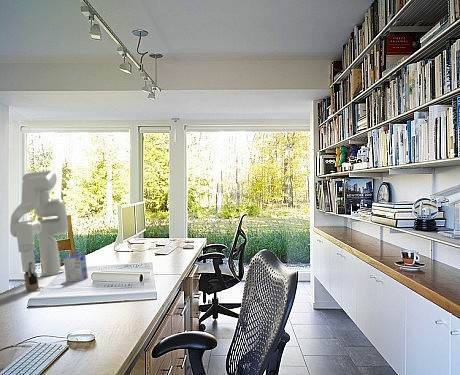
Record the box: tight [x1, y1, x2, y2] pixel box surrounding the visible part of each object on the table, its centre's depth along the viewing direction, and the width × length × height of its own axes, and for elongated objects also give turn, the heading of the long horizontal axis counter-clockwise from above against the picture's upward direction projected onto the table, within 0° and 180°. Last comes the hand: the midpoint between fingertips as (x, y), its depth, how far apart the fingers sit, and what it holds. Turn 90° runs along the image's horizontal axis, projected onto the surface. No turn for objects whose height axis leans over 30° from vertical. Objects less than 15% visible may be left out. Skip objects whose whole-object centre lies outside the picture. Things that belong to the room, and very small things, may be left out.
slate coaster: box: [20, 286, 44, 295], centre depth 223 cm, size 10×10×1 cm
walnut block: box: [23, 271, 40, 292], centre depth 224 cm, size 5×5×8 cm
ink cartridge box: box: [63, 251, 89, 283], centre depth 237 cm, size 10×6×14 cm, turn 78°
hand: (31, 282), depth 223 cm, fingers open, 9 cm apart
